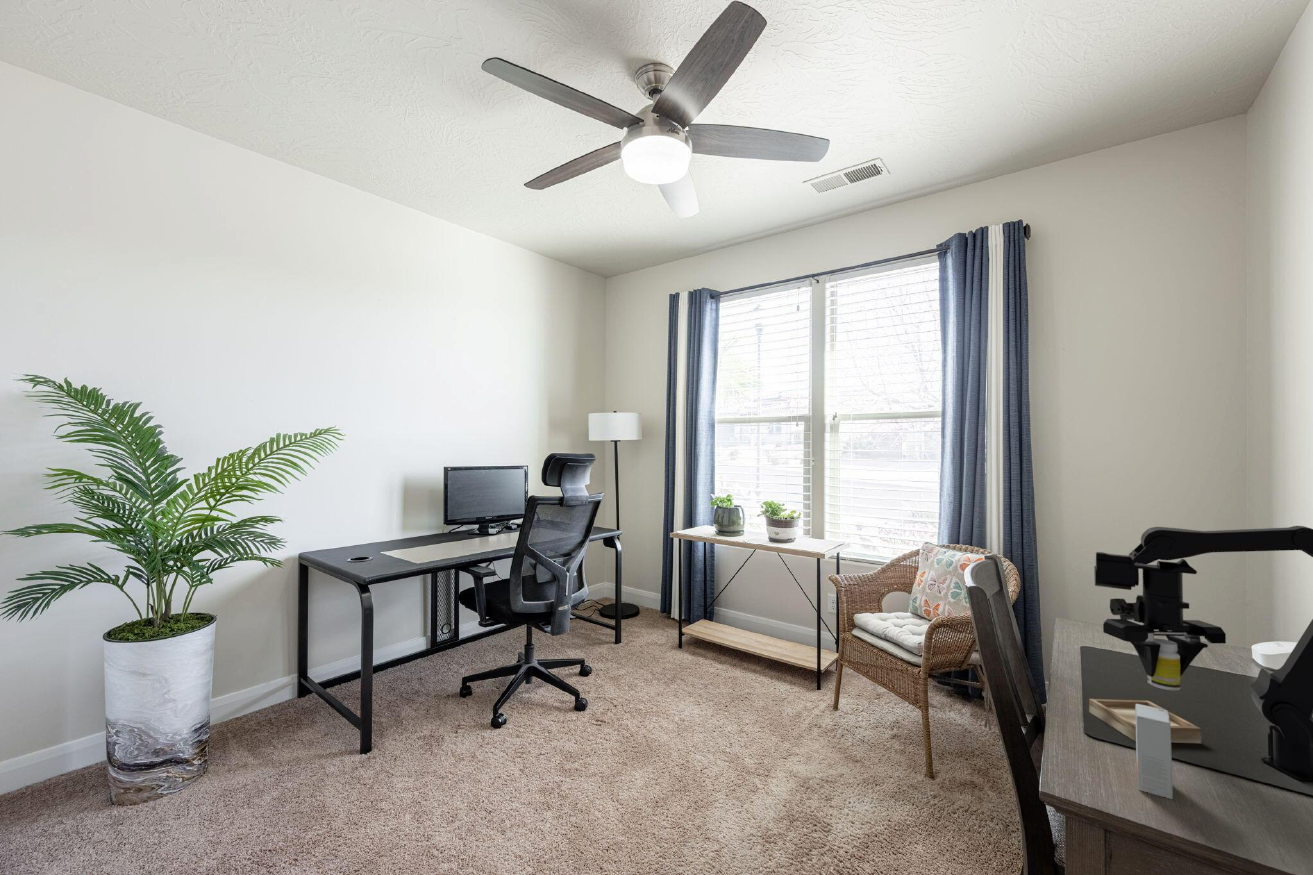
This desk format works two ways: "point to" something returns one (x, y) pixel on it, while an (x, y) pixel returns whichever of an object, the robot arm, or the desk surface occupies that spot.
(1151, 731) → the skincare box
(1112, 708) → the wooden tray
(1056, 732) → the desk surface
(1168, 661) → the supplement bottle
